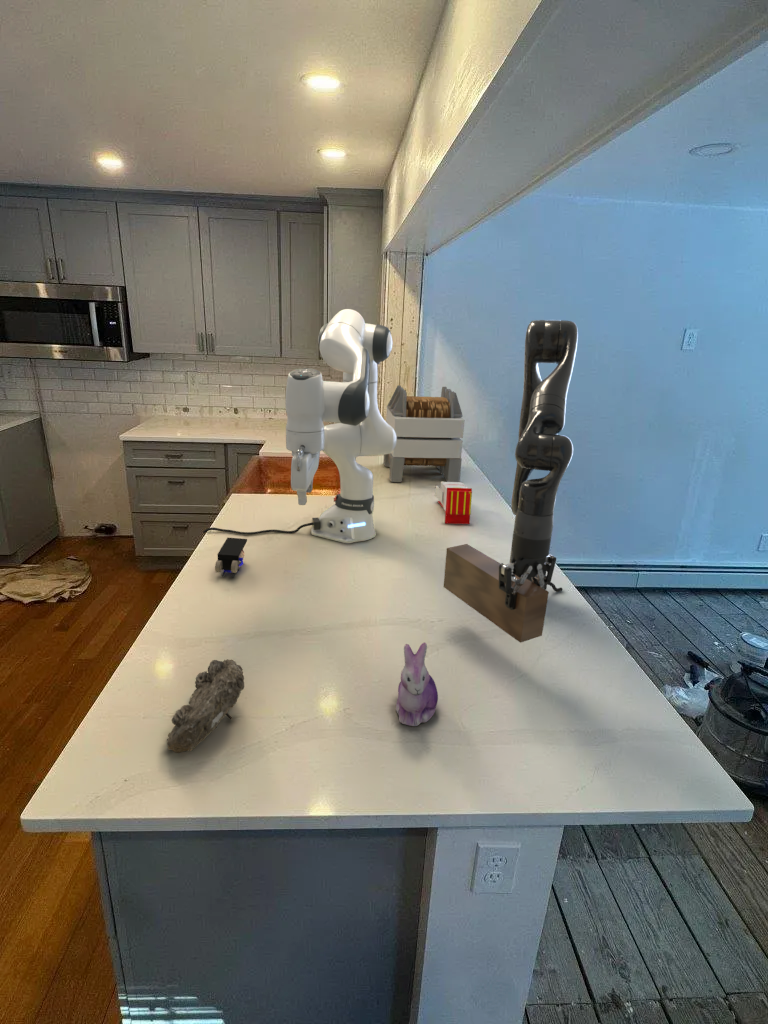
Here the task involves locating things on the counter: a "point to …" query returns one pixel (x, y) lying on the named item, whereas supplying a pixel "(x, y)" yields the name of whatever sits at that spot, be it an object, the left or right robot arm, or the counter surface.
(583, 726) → the counter surface
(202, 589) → the counter surface
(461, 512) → the toy
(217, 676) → the fossil
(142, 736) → the counter surface
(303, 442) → the left robot arm
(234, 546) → the black wheeled vehicle
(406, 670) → the figurine
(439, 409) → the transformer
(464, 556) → the box
